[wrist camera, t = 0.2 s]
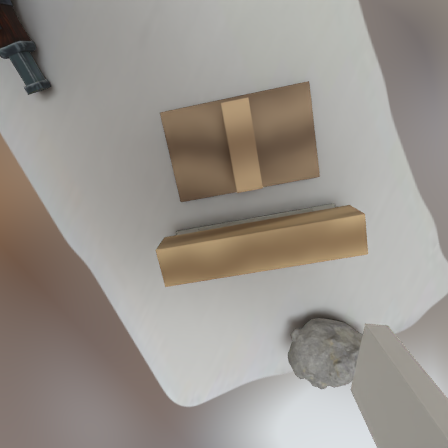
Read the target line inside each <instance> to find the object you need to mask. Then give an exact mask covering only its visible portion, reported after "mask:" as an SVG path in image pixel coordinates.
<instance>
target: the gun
mask: <svg viewBox="0 0 448 448" xmlns="http://www.w3.org/2000/svg"><path fill="white" fill-rule="evenodd" d="M35 49H36V46H35V44H34V42H33V41H31V39H30V38H29V36H28V35H27V33H26V32H25V30H24V29H23V27H22V25H21V23H20V22H19V20H18V18H17V16H16V14H15V11H14V9H13V4H12V3H11V1H10V0H0V57H1V58H3V59H7V58H10V60H11V61H12V63H13V65H14V66H15V68H16V70H17V71H18V73H19V75H20V76H21V78H22V80H23V81H24V83H25V85H26V86H25V87H24V88H25V90H26V92H27V93H28V94H32V93H35V92H39V91H41V90H44V89H46V88H49V87H51V85H50V83H49V81H48V80H45V78H44V77H43V75H42V73H41V71H40V70H39V68H38V66H37V64H36V63H35V61H34V59H33V57H32V56H31V54H30V52H33V51H35Z"/></svg>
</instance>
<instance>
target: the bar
mask: <svg viewBox="0 0 448 448" xmlns="http://www.w3.org/2000/svg"><path fill="white" fill-rule="evenodd" d="M156 253H157V257H158V261H159V264H160V268H161V272H162V276H163V280H164V283H165V287H168V286H174V285H180V284H187V283H193V282H199V281H205V280H211V279H218V278H224V277H230V276H236V275H242V274H249V273H255V272H261V271H267V270H273V269H280V268H286V267H292V266H298V265H304V264H311V263H317V262H323V261H329V260H335V259H342V258H348V257H354V256H360V255H366V254H368V248H367V234H366V221H365V214H364V213H362V212H361V211H359V210H357V209H356V208H354V207H352V206H350V205H347V206H341V207H335V208H330V209H324V210H318V211H312V212H307V213H301V214H295V215H290V216H284V217H278V218H273V219H267V220H261V221H255V222H250V223H244V224H238V225H233V226H227V227H221V228H215V229H210V230H204V231H198V232H193V233H187V234H181V235H175V236H170V237H165V238H164V239H163V240H162V242H161V243H160V245H159V246H158V248H157V249H156Z"/></svg>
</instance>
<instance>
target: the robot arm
mask: <svg viewBox="0 0 448 448" xmlns="http://www.w3.org/2000/svg"><path fill="white" fill-rule="evenodd" d="M351 392H352V394H353V396H354V398H355V400H356V402H357V405H358V407H359V409H360V411H361V413H362V416H363V418H364V420H365V422H366V424H367V426H368V429H369V431H370V433H371V435H372V437H373V439H374V442H375V444H376V446H377V448H448V398H447V397H446V396H445V395H444V393H443V392H442V391H441V390H440V389H439V387H438V386H437V385H436V384H435V383H434V381H433V380H432V379H431V378H430V377H429V375H428V374H427V373H426V372H425V370H424V369H423V368H422V367H421V366H420V364H419V363H418V362H417V361H416V359H414V357H413V356H412V355H411V354H410V352H409V351H408V350H407V349H406V347H405V346H404V345H403V344H402V342H401V341H400V340H399V339H398V338H397V336H396V335H395V334H394V333H393V332H392V330H391V329H390V328H389V327H388V326H386V325H375V324H365V327H364V331H363V336H362V341H361V345H360V350H359V354H358V359H357V363H356V368H355V372H354V377H353V382H352V387H351Z"/></svg>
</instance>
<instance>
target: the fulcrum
mask: <svg viewBox="0 0 448 448" xmlns="http://www.w3.org/2000/svg"><path fill="white" fill-rule="evenodd" d="M160 115H161V119H162V124H163V128H164V132H165V137H166V141H167V145H168V149H169V154H170V158H171V162H172V167H173V171H174V175H175V179H176V184H177V188H178V192H179V197H180V201H181V202H185V201H190V200H196V199H201V198H207V197H212V196H217V195H223V194H228V193H234V192H237V193H240V192H245V191H251V190H256V189H261V188H263V187H266V186H272V185H277V184H283V183H288V182H293V181H299V180H304V179H310V178H315V177H320V175H319V166H318V157H317V148H316V139H315V130H314V121H313V112H312V103H311V94H310V85H309V81H308V82H303V83H298V84H294V85H289V86H284V87H279V88H275V89H270V90H265V91H260V92H256V93H251V94H246V95H241V96H237V97H232V98H227V99H222V100H218V101H213V102H208V103H203V104H199V105H194V106H189V107H184V108H180V109H175V110H170V111H165V112H161V113H160Z"/></svg>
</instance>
